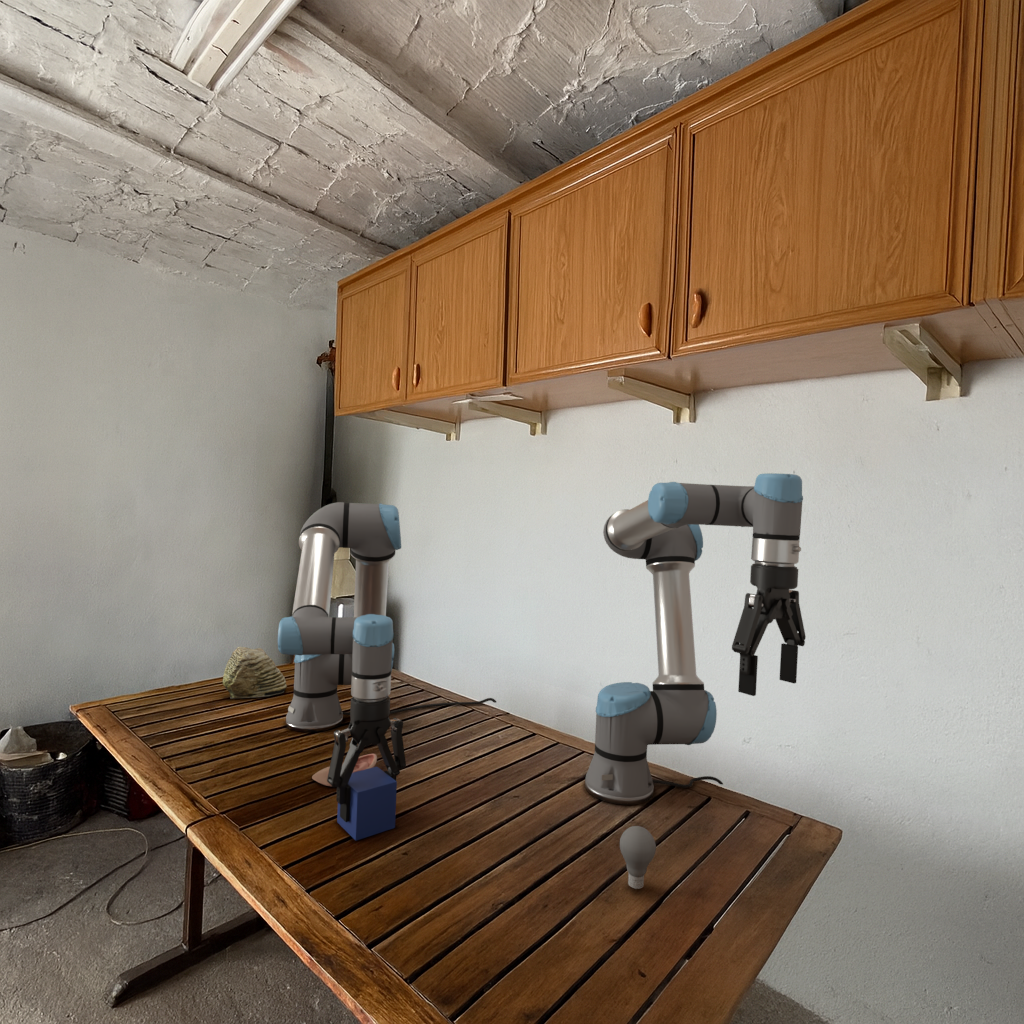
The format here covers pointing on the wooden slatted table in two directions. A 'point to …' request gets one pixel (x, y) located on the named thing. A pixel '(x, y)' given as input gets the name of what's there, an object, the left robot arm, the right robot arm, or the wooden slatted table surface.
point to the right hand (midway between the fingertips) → (768, 687)
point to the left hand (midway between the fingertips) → (366, 812)
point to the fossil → (252, 674)
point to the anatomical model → (361, 764)
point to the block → (370, 803)
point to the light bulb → (637, 853)
